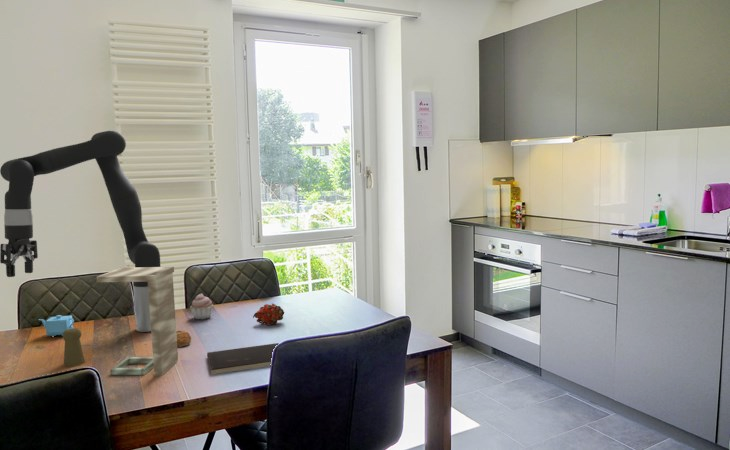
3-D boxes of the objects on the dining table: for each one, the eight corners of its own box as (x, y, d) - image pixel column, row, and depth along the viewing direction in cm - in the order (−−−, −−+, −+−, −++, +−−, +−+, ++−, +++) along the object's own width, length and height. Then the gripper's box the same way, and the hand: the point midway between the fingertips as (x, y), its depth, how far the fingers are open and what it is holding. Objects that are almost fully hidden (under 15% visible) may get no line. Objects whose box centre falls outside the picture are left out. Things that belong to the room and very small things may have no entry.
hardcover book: (288, 365, 168) (288, 357, 168) (211, 376, 160) (210, 369, 160) (278, 349, 183) (278, 342, 183) (207, 358, 175) (207, 351, 175)
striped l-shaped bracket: (104, 377, 160) (96, 276, 157) (127, 360, 174) (120, 267, 171) (161, 376, 159) (154, 276, 156) (179, 359, 173) (173, 266, 170)
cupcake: (219, 316, 223) (218, 292, 222) (201, 322, 216) (199, 297, 214) (203, 313, 228) (202, 289, 227) (185, 318, 221) (184, 294, 219)
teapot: (36, 339, 199) (34, 319, 198) (42, 334, 205) (41, 314, 204) (72, 336, 201) (70, 316, 200) (77, 331, 207) (75, 312, 206)
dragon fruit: (287, 327, 211) (256, 333, 210) (285, 310, 217) (255, 316, 216) (284, 313, 205) (252, 320, 204) (281, 296, 211) (250, 302, 210)
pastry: (195, 345, 188) (194, 334, 187) (175, 349, 184) (174, 338, 184) (187, 338, 196) (187, 328, 195) (168, 342, 192) (167, 331, 192)
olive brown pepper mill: (75, 367, 169) (72, 332, 168) (59, 366, 171) (55, 331, 169) (89, 360, 175) (86, 326, 174) (72, 359, 176) (70, 326, 175)
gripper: (15, 225, 164) (16, 278, 165) (44, 222, 179) (45, 271, 180) (-10, 224, 165) (-8, 278, 166) (21, 222, 179) (23, 271, 180)
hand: (20, 274), depth 173 cm, fingers open, 8 cm apart
